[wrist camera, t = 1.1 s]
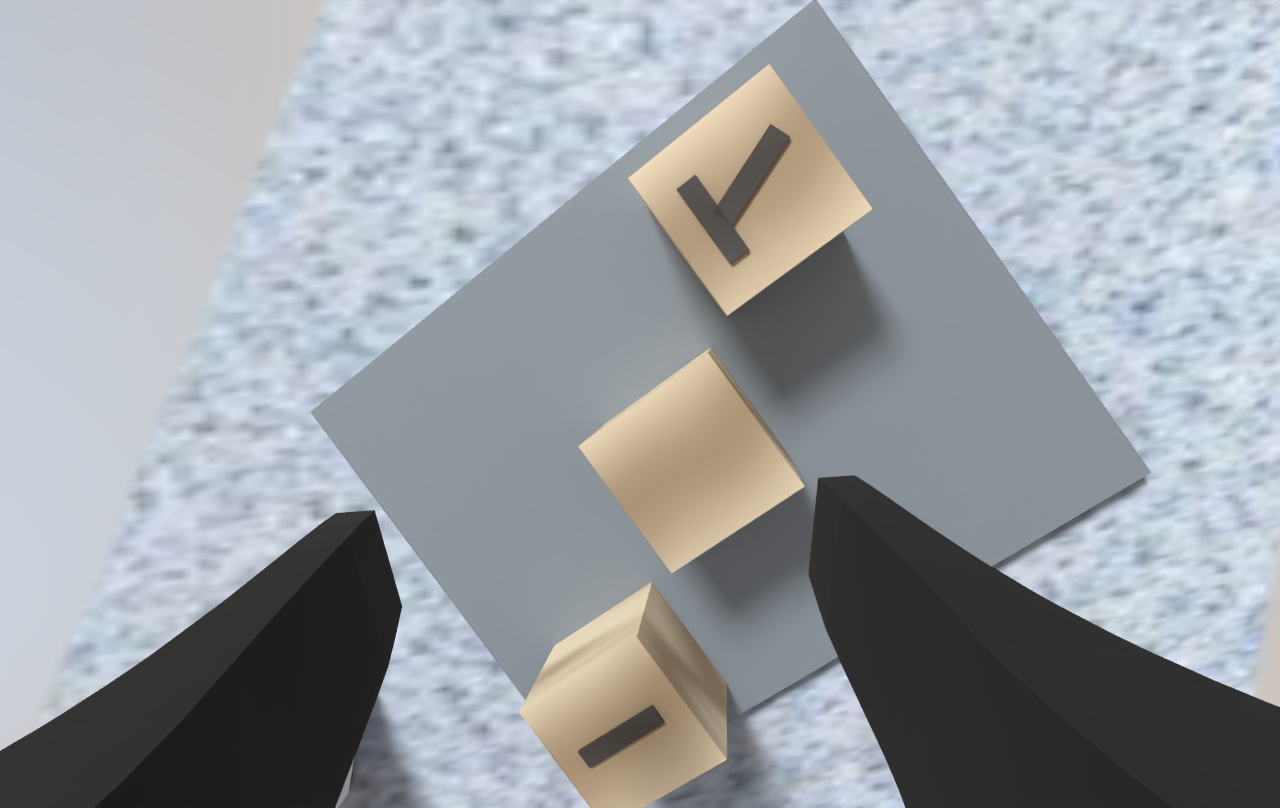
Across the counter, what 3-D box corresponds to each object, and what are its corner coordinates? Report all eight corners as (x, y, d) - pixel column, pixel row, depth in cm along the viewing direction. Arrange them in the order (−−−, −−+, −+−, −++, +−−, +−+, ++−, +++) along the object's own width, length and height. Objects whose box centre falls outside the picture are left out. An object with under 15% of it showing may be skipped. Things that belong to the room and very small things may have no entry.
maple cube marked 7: (843, 231, 20) (874, 207, 16) (726, 316, 21) (727, 315, 17) (760, 115, 20) (769, 61, 16) (646, 205, 21) (627, 176, 16)
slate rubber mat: (1140, 468, 20) (1151, 472, 20) (601, 788, 24) (598, 798, 24) (812, 6, 20) (815, -2, 19) (318, 410, 24) (310, 412, 23)
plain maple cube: (789, 455, 21) (804, 486, 17) (681, 528, 22) (671, 573, 18) (711, 347, 21) (707, 352, 17) (604, 424, 22) (578, 446, 18)
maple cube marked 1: (726, 682, 22) (727, 762, 18) (626, 743, 23) (605, 832, 19) (652, 581, 22) (635, 639, 18) (554, 645, 23) (517, 714, 19)
